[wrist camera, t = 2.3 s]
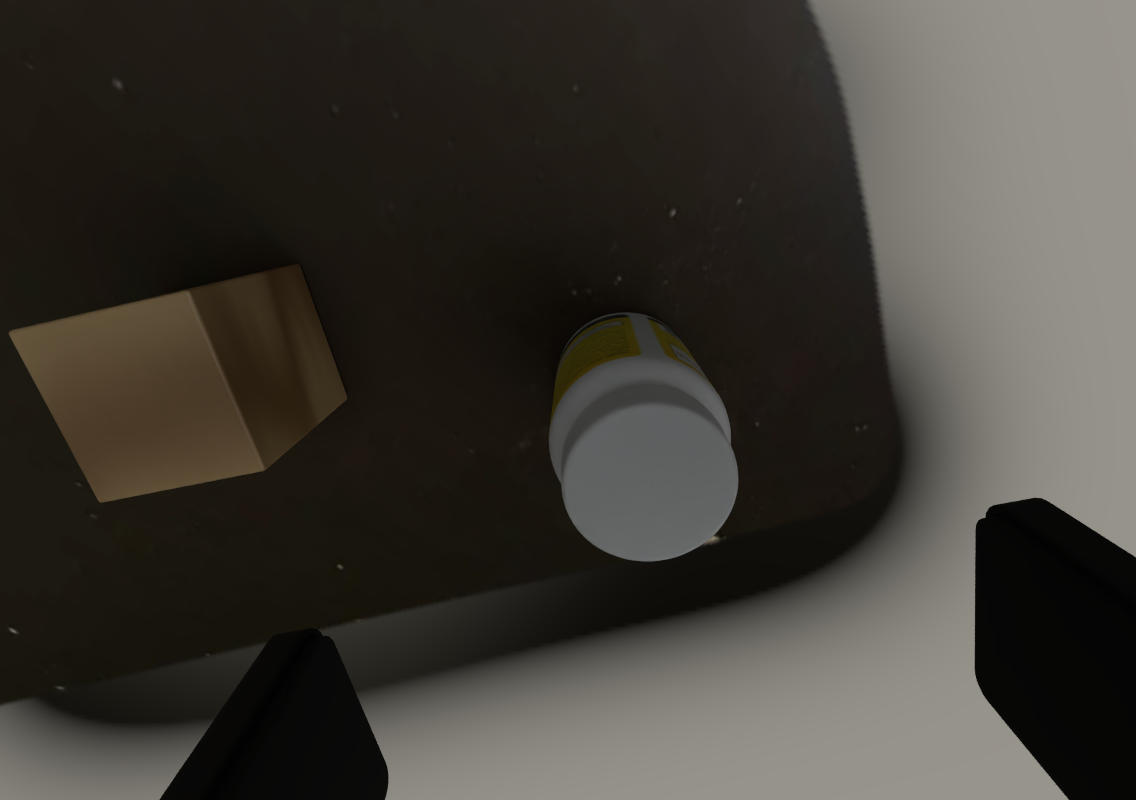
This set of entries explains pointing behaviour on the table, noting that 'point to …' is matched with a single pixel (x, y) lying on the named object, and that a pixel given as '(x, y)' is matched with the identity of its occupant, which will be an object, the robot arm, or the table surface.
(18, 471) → the table surface
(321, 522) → the table surface
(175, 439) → the oak block
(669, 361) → the supplement bottle
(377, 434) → the table surface
